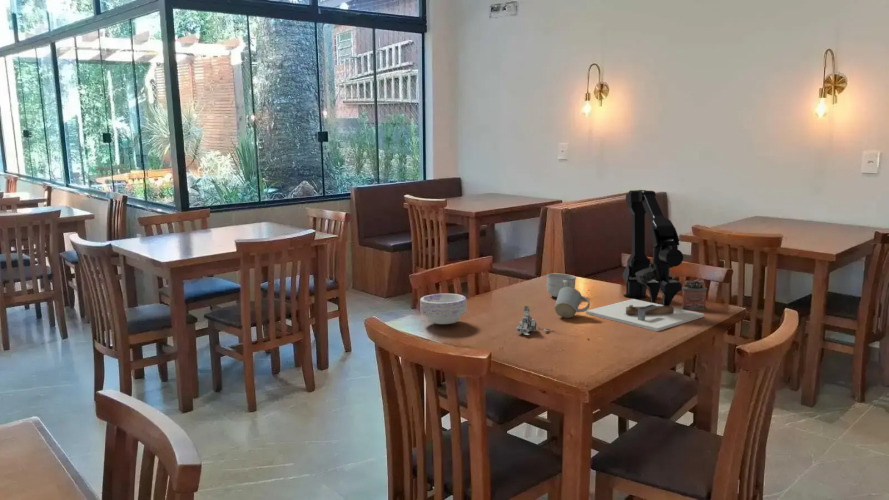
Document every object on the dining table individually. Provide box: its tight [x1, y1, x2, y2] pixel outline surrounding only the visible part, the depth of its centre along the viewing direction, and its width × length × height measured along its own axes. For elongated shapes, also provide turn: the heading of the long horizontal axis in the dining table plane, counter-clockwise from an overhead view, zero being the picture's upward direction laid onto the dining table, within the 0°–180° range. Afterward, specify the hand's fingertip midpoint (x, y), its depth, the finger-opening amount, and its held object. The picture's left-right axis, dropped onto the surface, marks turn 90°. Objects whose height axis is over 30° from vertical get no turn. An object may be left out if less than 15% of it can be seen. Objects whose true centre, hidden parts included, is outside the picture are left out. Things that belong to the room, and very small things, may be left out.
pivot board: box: [585, 298, 705, 332], centre depth 225 cm, size 28×26×1 cm
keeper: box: [638, 305, 656, 321], centre depth 218 cm, size 2×7×4 cm, turn 128°
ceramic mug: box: [554, 287, 591, 319], centre depth 223 cm, size 11×8×8 cm
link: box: [626, 305, 675, 315], centre depth 222 cm, size 16×3×3 cm, turn 94°
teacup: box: [546, 273, 577, 298], centre depth 252 cm, size 14×11×8 cm
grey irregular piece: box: [515, 305, 550, 336], centre depth 209 cm, size 9×9×8 cm
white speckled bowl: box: [419, 293, 467, 325], centre depth 221 cm, size 15×15×8 cm
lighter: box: [681, 279, 708, 311], centre depth 232 cm, size 8×3×10 cm, turn 84°
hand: (659, 305), depth 229 cm, fingers open, 8 cm apart
